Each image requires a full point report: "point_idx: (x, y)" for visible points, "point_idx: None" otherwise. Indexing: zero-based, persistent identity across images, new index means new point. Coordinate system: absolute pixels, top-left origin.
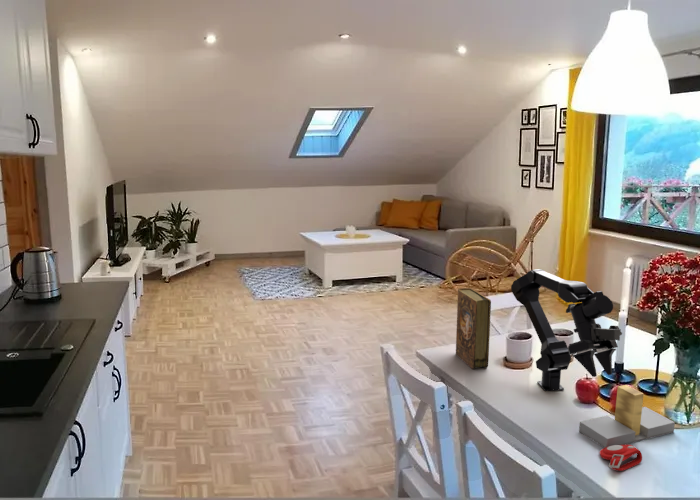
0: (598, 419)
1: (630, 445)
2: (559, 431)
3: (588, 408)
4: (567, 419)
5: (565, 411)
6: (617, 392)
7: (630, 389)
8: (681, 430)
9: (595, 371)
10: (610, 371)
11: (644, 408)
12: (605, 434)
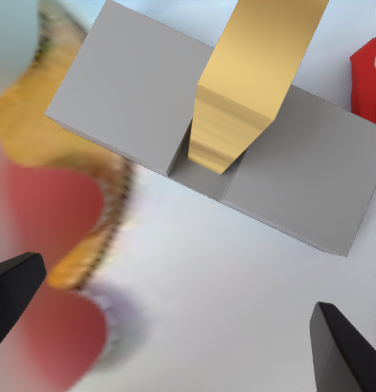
0: (281, 210)
1: (367, 69)
2: (367, 299)
3: (135, 296)
4: (269, 317)
5: (216, 350)
6: (260, 132)
7: (260, 33)
8: (87, 13)
9: (353, 338)
10: (23, 267)
11: (63, 111)
12: (372, 149)
